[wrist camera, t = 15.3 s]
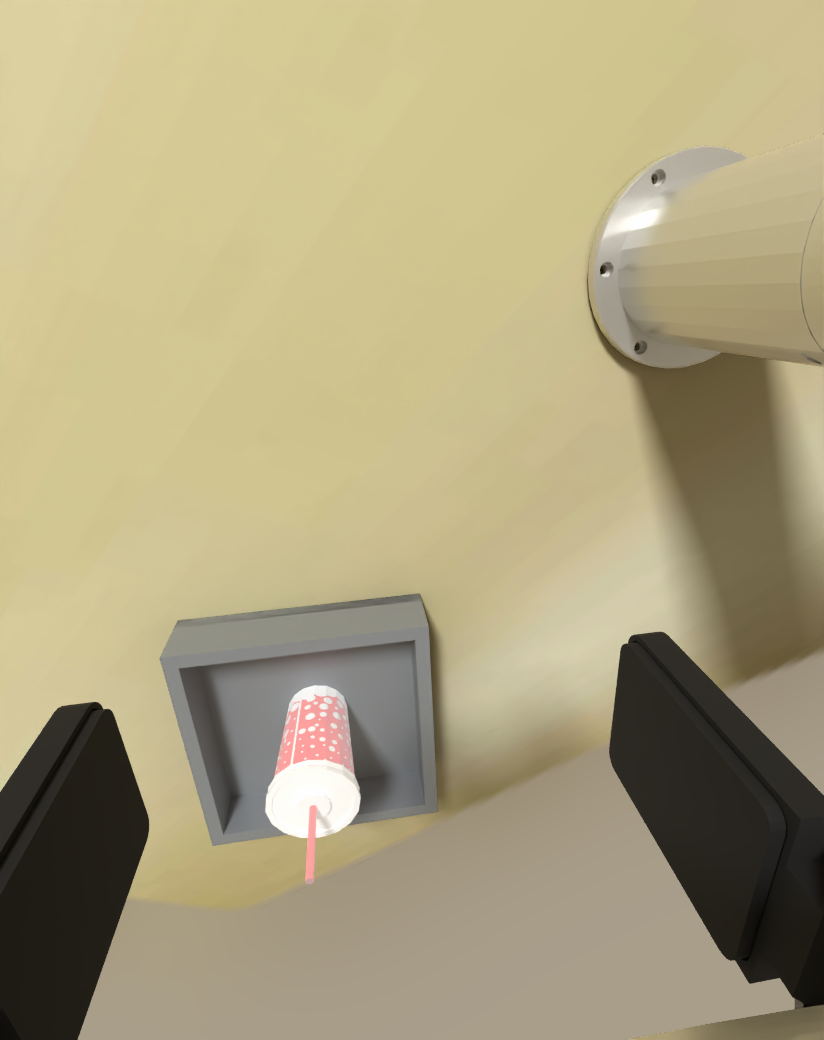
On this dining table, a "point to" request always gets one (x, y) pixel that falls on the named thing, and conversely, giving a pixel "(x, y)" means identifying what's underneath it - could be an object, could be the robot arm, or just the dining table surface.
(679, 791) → the robot arm
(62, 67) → the dining table surface
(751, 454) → the dining table surface
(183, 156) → the dining table surface
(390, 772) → the box
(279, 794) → the beverage cup
